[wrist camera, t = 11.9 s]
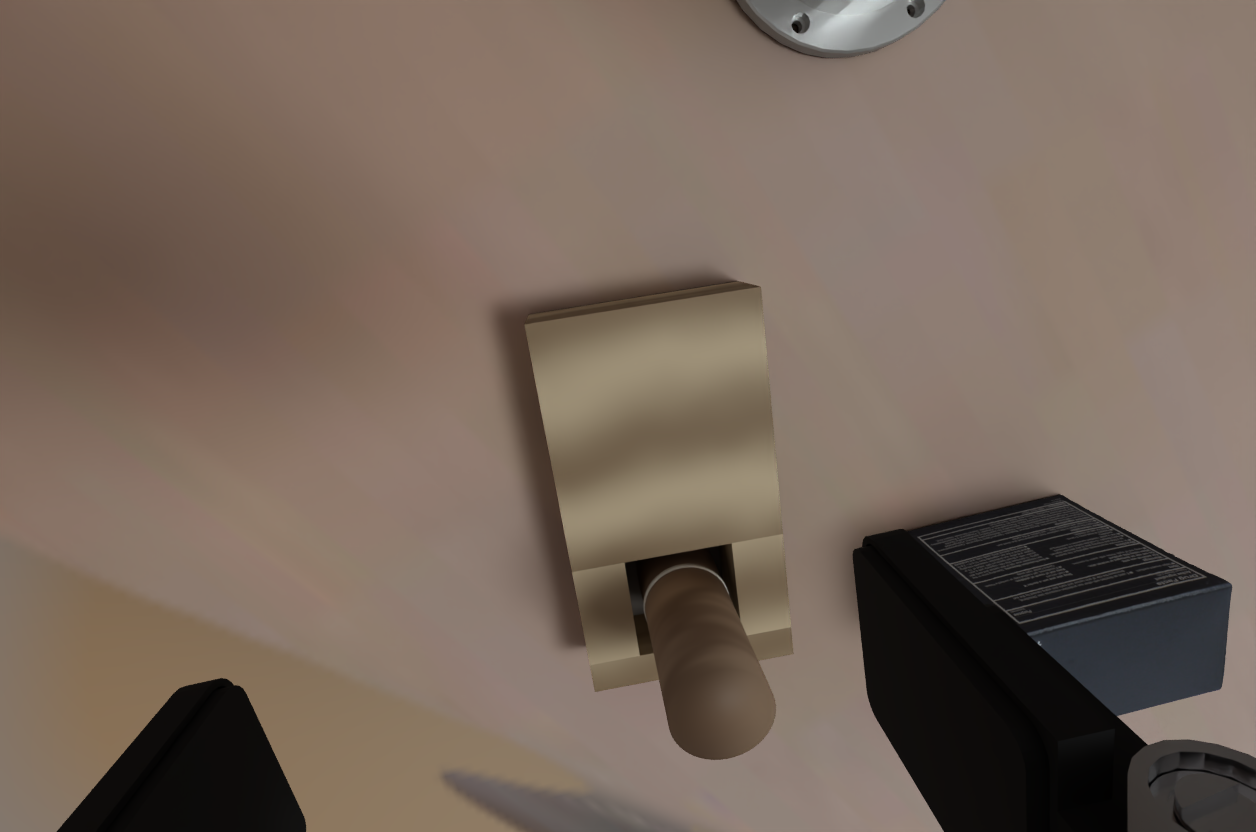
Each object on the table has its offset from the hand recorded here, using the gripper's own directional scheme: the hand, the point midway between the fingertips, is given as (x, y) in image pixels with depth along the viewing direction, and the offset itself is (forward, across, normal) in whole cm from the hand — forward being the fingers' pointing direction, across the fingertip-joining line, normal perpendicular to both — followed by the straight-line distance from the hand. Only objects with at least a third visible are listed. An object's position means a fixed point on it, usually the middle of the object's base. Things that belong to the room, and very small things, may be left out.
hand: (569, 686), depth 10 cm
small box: (+26, -22, +18) cm, 38 cm away
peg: (+25, -3, +13) cm, 28 cm away
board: (+25, -3, +8) cm, 26 cm away
